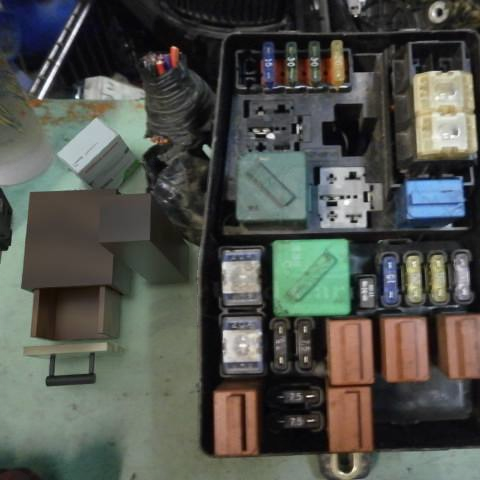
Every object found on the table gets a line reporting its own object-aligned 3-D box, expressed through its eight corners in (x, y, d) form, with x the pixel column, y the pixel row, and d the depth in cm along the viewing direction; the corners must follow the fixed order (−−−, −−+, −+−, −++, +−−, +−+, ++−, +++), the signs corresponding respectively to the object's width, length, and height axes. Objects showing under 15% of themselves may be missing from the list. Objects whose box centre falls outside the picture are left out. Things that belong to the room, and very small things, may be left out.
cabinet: (130, 295, 85) (112, 284, 77) (49, 300, 85) (20, 288, 76) (133, 208, 89) (116, 188, 81) (55, 212, 89) (29, 191, 80)
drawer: (122, 383, 81) (105, 382, 74) (43, 388, 80) (19, 387, 73) (126, 268, 86) (111, 256, 79) (52, 271, 85) (30, 260, 78)
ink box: (121, 148, 92) (96, 113, 81) (142, 165, 92) (120, 132, 80) (83, 184, 90) (53, 153, 79) (105, 202, 89) (77, 173, 78)
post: (189, 282, 86) (150, 240, 63) (151, 284, 86) (97, 243, 63) (189, 246, 88) (151, 192, 65) (151, 248, 88) (100, 194, 65)
